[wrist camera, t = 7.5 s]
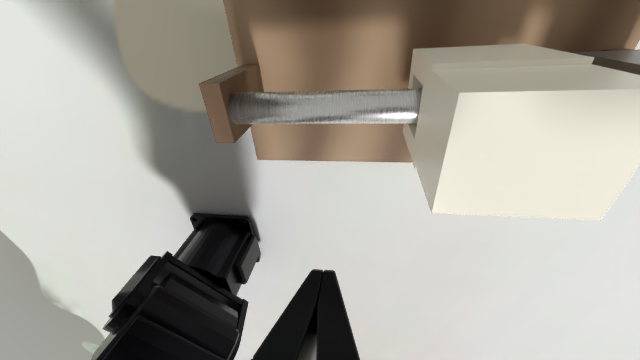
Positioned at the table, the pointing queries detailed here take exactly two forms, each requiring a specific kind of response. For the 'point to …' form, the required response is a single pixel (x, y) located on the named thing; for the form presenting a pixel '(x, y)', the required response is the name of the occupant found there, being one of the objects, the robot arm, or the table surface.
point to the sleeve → (522, 131)
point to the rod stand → (379, 65)
